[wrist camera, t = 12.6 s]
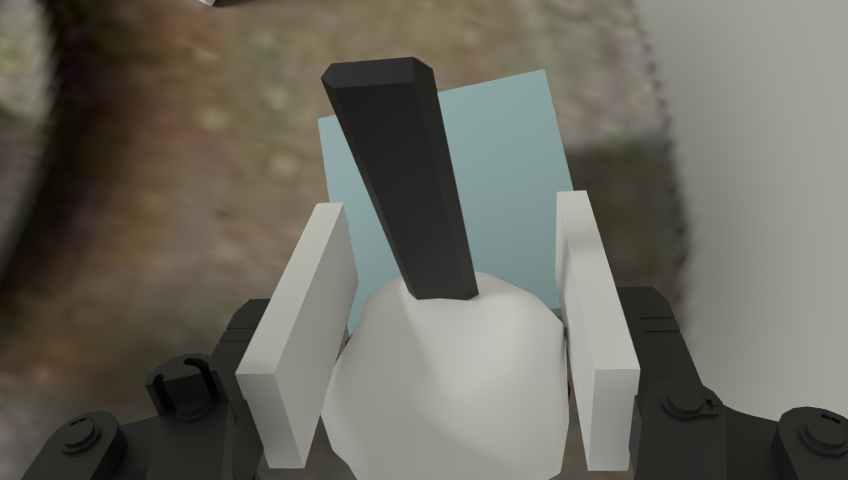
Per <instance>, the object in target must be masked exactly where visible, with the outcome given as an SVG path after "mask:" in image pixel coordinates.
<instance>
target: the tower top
mask: <svg viewBox="0 0 848 480" xmlns="http://www.w3.org/2000/svg"><path fill="white" fill-rule="evenodd" d="M438 98H439V103H440V108H441V113H442V117H443V122H444V127H445V132H446V137H447V142H448V146H449V151H450V156H451V161H452V166H453V171H454V176H455V180H456V185H457V190H458V195H459V200H460V205H461V210H462V214H463V219H464V224H465V229H466V234H467V239H468V243H469V248H470V253H471V258H472V263H473V268H474V271H478V272H483V273H487V274H490V275H492V276H494V277H497V278H499V279H501V280H503V281H506V282H508V283H510V284H512V285H514V286H517V287H519V288H521V289H523V290H525V291H528V292H530V293H532V294H534V295H536V296H537V297H538V298H539V299H540V300H541V301H542V302H543V303H544V304H545V305H546V306H547V307H548V308H549V309H550V310H551V312H552V313H553V314H554V315H555V316H560V315H562V313H561V307H560V301H559V295H558V289H557V283H556V277H555V264H556V210H557V192H564V191H574V190H573V186H572V182H571V178H570V174H569V169H568V165H567V161H566V157H565V153H564V149H563V145H562V140H561V136H560V132H559V128H558V124H557V120H556V116H555V111H554V107H553V103H552V99H551V95H550V91H549V87H548V82H547V78H546V74H545V70H544V69H542V70H538V71H533V72H529V73H524V74H519V75H515V76H510V77H506V78H501V79H497V80H492V81H488V82H483V83H479V84H474V85H470V86H465V87H461V88H456V89H451V90H447V91H442V92H438ZM318 124H319V131H320V138H321V145H322V152H323V159H324V166H325V173H326V180H327V187H328V194H329V201H330V203H338V202H344V207H345V212H346V217H347V222H348V227H349V232H350V238H351V243H352V248H353V253H354V258H355V263H356V269H357V274H358V279H359V284H358V287H357V291H356V294H355V297H354V301H353V304H352V308H351V311H350V314H349V318H348V321H347V326H348V333H349V337H350V336H351V334H352V333H353V332H354V330H355V328H356V325H357V323H358V320H359V318H360V315H361V313H362V310H363V308H364V305H365V303H366V300H367V298H368V295H369V294H370V293H372V292H374V291H375V290H377V289H379V288H381V287H382V286H384V285H386V284H387V283H389V282H391V281H392V280H394V279H396V278H397V277H399V276H401V272H400V270H399V267H398V265H397V262H396V260H395V258H394V255H393V253H392V250H391V248H390V245H389V243H388V241H387V238H386V236H385V233H384V231H383V228H382V226H381V224H380V221H379V219H378V216H377V214H376V211H375V209H374V207H373V204H372V202H371V199H370V197H369V194H368V192H367V189H366V187H365V185H364V182H363V180H362V177H361V175H360V172H359V170H358V168H357V165H356V163H355V160H354V158H353V155H352V153H351V151H350V148H349V146H348V143H347V141H346V138H345V136H344V134H343V131H342V129H341V126H340V124H339V121H338V119H337V116H336V115H333V116H329V117H324V118H320V119H318Z"/></svg>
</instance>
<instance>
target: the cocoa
mask: <svg viewBox="0 0 848 480" xmlns="http://www.w3.org/2000/svg"><path fill="white" fill-rule="evenodd" d="M321 80H322V82H323V85H324V87H325V90H326V92H327V95H328V97H329V99H330V102H331V104H332V107H333V109H334V112H335V114H336V116H337V119H338V121H339V124H340V126H341V129H342V131H343V134H344V136H345V138H346V141H347V143H348V146H349V148H350V151H351V153H352V155H353V158H354V160H355V163H356V165H357V168H358V170H359V172H360V175H361V177H362V180H363V182H364V185H365V187H366V189H367V192H368V194H369V197H370V199H371V202H372V204H373V207H374V209H375V211H376V214H377V216H378V219H379V221H380V224H381V226H382V228H383V231H384V233H385V236H386V238H387V241H388V243H389V245H390V248H391V250H392V253H393V255H394V258H395V260H396V262H397V265H398V267H399V270H400V272H401V276H399V277H397V278H396V279H394V280H392V281H391V282H389V283H387V284H386V285H384V286H382V287H381V288H379V289H377V290H375V291H374V292H372V293H370V294H369V295H368V298H367V300H366V303H365V305H364V308H363V310H362V313H361V315H360V318H359V320H358V323H357V325H356V328H355V330H354V332H353V333H352V334H351V336H350V337H349V338H348V340H347V341H346V345H345V348H344V350H343V352H342V353H341V355H340V357H339V359H338V360H337V362H336V364H335V365H334V369H333V372H332V376H331V379H330V382H329V386H328V389H327V393H326V396H325V399H324V403H323V406H322V410H321V413H320V414H321V417H322V420H323V423H324V426H325V429H326V432H327V435H328V438H329V441H330V444H331V447H332V450H333V451H334V452H335V453H336V454H337V455H338V456H339V457H340V458H341V459H342V460H344V461H345V462H346V463H347V464H348V465H349V467H350V469H351V470H352V472H353V474H354V475H355V477H356V479H357V480H549V479H551V478H552V477H554V476H556V475H557V474H559V473H561V467H562V461H563V455H564V449H565V443H566V437H567V431H568V425H569V409H568V403H569V397H570V391H571V389H570V386H569V382H568V379H567V359H566V336H565V326H564V325H563V323H562V322H561V321H560V320H559V319H558V318H557V317H556V316H555V315H554V314H553V313H552V312H551V310H550V309H549V308H548V307H547V306H546V305H545V304H544V303H543V302H542V301H541V300H540V299H539V298H538V297H537V296H536V295H534V294H532V293H530V292H528V291H525V290H523V289H521V288H519V287H517V286H514V285H512V284H510V283H508V282H506V281H503V280H501V279H499V278H497V277H494V276H492V275H490V274H487V273H483V272H478V271H474V268H473V263H472V258H471V253H470V248H469V243H468V239H467V234H466V229H465V224H464V219H463V214H462V210H461V205H460V200H459V195H458V190H457V185H456V180H455V176H454V171H453V166H452V161H451V156H450V151H449V146H448V142H447V137H446V132H445V127H444V122H443V117H442V113H441V108H440V103H439V98H438V93H437V88H436V83H435V79H434V74H433V69H432V68H430V67H429V66H427V65H426V64H424V63H423V62H421V61H420V60H419V59H417V58H414V57H406V58H394V59H382V60H370V61H358V62H346V63H334V64H331V65H330V66H329V67H328V69H327V70H326V71H325V73H324V74H323V75H322V77H321Z"/></svg>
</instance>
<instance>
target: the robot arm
mask: <svg viewBox="0 0 848 480" xmlns="http://www.w3.org/2000/svg"><path fill="white" fill-rule="evenodd" d="M555 277H556V283H557V289H558V295H559V301H560V307H561V313H562V319H563V324H564V326H565V336H566V342H567V348H568V354H569V360H570V366H571V372H572V378H573V384H574V390H575V396H576V402H577V408H578V414H579V420H580V426H581V431H582V437H583V443H584V449H585V455H586V461H587V467H588V471H628V466H629V458H630V457H631V461H632V465H633V469H634V474H635V475H634V480H848V419H846V418H845V417H843V416H841V415H838V414H836V413H833V412H831V411H828V410H826V409H821V408H814V407H800V408H793V409H791V410H789V411H787V412H786V413H784V414H782V416H781V419H780V420H779V422H777V421H773V420H768V419H764V418H760V417H755V416H751V415H747V414H744V413H741V412H738V411H735V410H733V409H731V408H729V407H727V406H725V405H723V403H722V401H721V400H720V399H719V398H718V397H717V395H716V394H715V393H714V392H713V391H711V390H710V389H708V388H707V387H705V386H703V384H702V382H701V380H700V378H699V375H698V373H697V370H696V368H695V366H694V363H693V361H692V358H691V356H690V353H689V351H688V349H687V346H686V344H685V341H684V339H683V336H682V334H680V329H679V327H678V324H677V322H676V320H675V319H674V315H673V312H672V310H671V307H670V305H669V302H668V300H667V299H665V298H664V297H663V296H662V295H661V294H660V293H659V292H658V291H657V290H655V289H654V288H653V287H618V288H616V287H615V284H614V280H613V277H612V274H611V270H610V267H609V264H608V261H607V257H606V254H605V251H604V247H603V244H602V241H601V238H600V234H599V231H598V228H597V224H596V221H595V218H594V215H593V211H592V208H591V205H590V201H589V198H588V195H587V191H586V190H585V191H564V192H557V210H556V264H555ZM358 284H359V279H358V274H357V269H356V263H355V258H354V253H353V248H352V243H351V238H350V232H349V227H348V222H347V217H346V212H345V207H344V202H338V203H317V205H316V207H315V209H314V211H313V213H312V215H311V217H310V219H309V221H308V223H307V225H306V228H305V230H304V232H303V234H302V236H301V238H300V240H299V242H298V244H297V246H296V248H295V250H294V252H293V255H292V257H291V259H290V261H289V263H288V265H287V267H286V269H285V271H284V273H283V275H282V277H281V279H280V282H279V284H278V286H277V288H276V290H275V292H274V294H273V296H272V298H271V299H250V300H249V301H248V302H247V303H245V304H244V305H243V306H242V307H241V308H240V309H239V310H238V311H236V312H235V313H234V315H233V317H232V319H231V320H230V322H229V324H228V326H227V328H226V331H224V333H223V335H222V337H221V339H220V343H219V344H217V346H216V348H215V350H214V352H213V353H212V355H211V357H209V356H208V355H203V354H199V353H196V354H185V355H182V356H179V357H176V358H173V359H171V360H169V361H168V362H166V363H164V364H162V365H161V366H159V367H158V368H157V369H156V370H155V371H154V372H153V373H152V374H151V375H150V377H149V378H148V380H147V382H146V384H145V387H146V389H147V391H148V393H149V395H150V397H151V399H152V401H153V403H154V405H155V407H156V409H157V412H158V414H159V415H158V416H155V417H153V418H149V419H145V420H142V421H138V422H134V423H130V424H126V425H122V426H120V424H119V422H118V421H117V419H116V417H114V416H113V415H111V414H110V413H107V412H99V411H98V412H92V413H87V414H84V415H81V416H79V417H77V418H74V419H72V420H70V421H69V422H67V423H66V424H65V425H63V426H62V427H60V428H59V429H58V430H57V431H56V432H55V433H54V434H53V435H52V436H51V437H50V438H49V440H48V441H47V442H46V444H45V445H44V447H43V448H42V450H41V451H40V453H39V454H38V456H37V457H36V458H35V460H34V461H33V463H32V464H31V466H30V467H29V469H28V470H27V472H26V473H25V474H24V476H23V477H22V479H21V480H260V478H259V475H258V472H257V466H258V463H259V461H260V458H261V455H262V452H264V455H265V458H266V460H267V463H268V466H269V468H304V467H305V464H306V461H307V457H308V454H309V450H310V447H311V444H312V440H313V437H314V433H315V430H316V427H317V423H318V420H319V416H320V413H321V410H322V406H323V403H324V399H325V396H326V393H327V389H328V386H329V382H330V379H331V376H332V372H333V369H334V365H335V362H336V359H337V355H338V352H339V348H340V345H341V342H342V338H343V335H344V331H345V328H346V325H347V321H348V318H349V314H350V311H351V308H352V304H353V301H354V297H355V294H356V291H357V287H358Z"/></svg>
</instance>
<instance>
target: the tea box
mask: <svg viewBox="0 0 848 480" xmlns="http://www.w3.org/2000/svg"><path fill="white" fill-rule="evenodd" d="M199 1H201V2H203V3H205V4H207V5H209V6H212V5H213V4H214V2H215V1H216V0H199Z"/></svg>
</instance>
